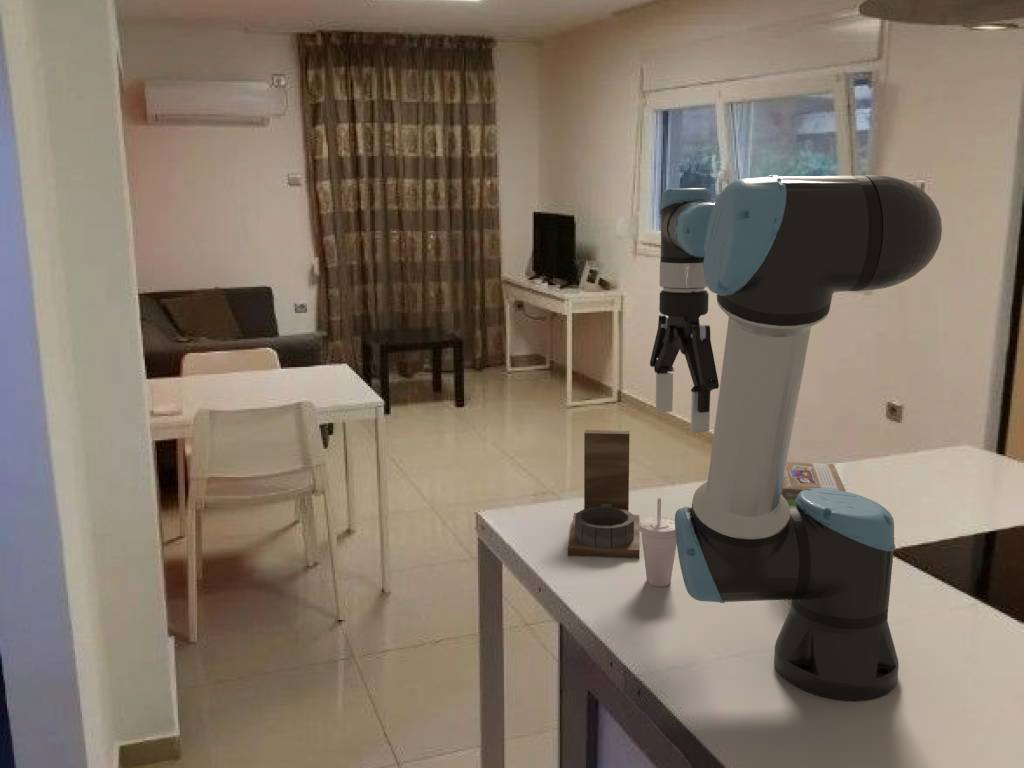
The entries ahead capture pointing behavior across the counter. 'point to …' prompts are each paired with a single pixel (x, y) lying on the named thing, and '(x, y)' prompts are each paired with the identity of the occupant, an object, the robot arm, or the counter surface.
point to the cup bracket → (605, 500)
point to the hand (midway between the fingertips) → (681, 421)
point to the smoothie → (658, 547)
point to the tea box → (808, 479)
